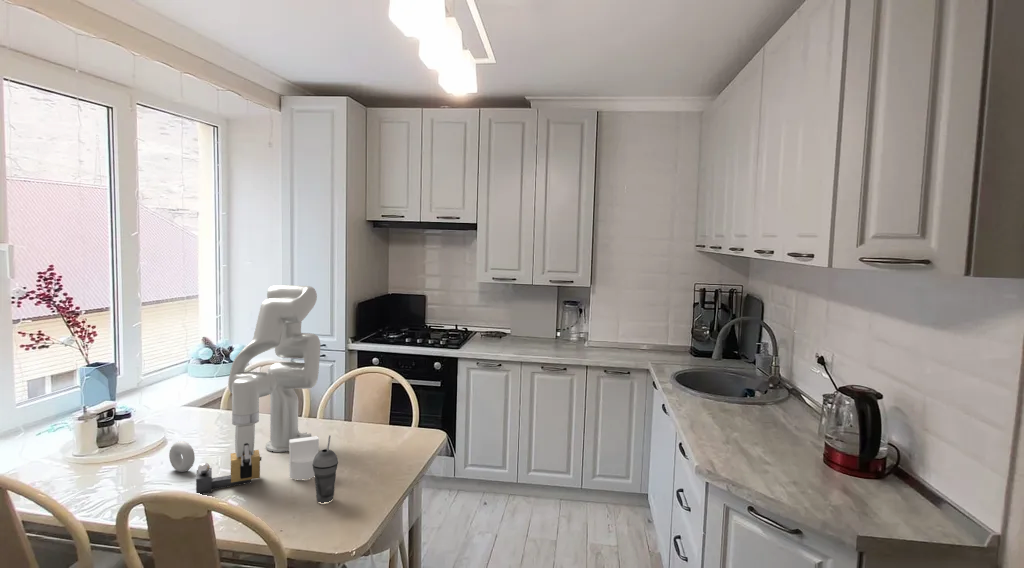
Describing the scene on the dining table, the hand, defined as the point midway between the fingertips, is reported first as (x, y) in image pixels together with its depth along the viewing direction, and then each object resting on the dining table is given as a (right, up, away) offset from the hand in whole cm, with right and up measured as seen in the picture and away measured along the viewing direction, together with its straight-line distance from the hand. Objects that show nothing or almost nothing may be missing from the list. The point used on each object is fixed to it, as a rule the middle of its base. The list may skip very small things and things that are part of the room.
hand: (245, 472), depth 167 cm
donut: (-24, -2, +7) cm, 25 cm away
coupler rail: (-5, -3, -2) cm, 7 cm away
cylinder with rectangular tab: (+16, -3, +7) cm, 18 cm away
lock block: (0, -1, 0) cm, 1 cm away
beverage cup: (+29, -5, -10) cm, 31 cm away
